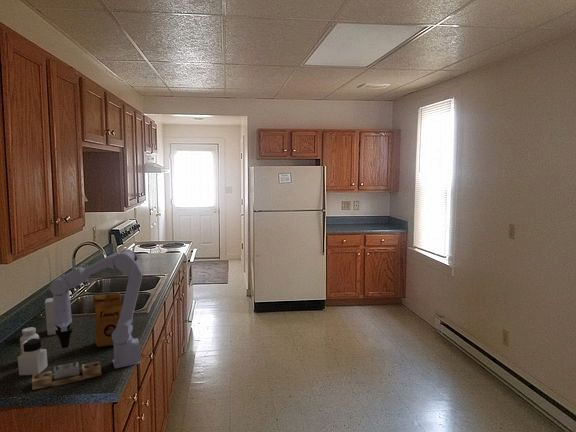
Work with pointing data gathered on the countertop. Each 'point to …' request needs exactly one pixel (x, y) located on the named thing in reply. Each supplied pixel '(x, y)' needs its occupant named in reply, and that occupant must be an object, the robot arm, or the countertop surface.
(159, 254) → the countertop surface
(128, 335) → the robot arm
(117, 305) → the coffee package
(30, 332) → the supplement bottle
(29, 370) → the medicine bottle
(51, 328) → the skincare box
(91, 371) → the wooden frame
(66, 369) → the white box with knobs
